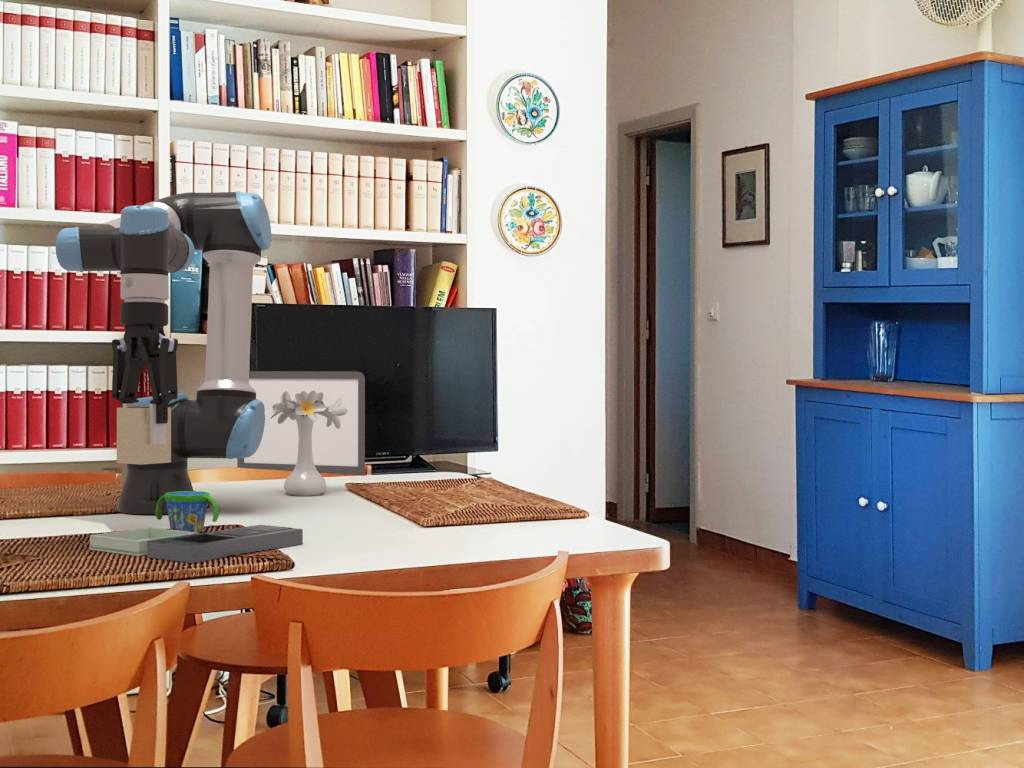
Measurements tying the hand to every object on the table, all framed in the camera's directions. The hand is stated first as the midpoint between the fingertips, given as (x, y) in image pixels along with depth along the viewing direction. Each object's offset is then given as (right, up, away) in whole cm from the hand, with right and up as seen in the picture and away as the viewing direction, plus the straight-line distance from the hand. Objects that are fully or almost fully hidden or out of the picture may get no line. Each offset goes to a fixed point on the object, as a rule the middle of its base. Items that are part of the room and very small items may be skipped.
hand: (144, 443), depth 191 cm
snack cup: (+2, -17, +17) cm, 24 cm away
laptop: (0, -17, +103) cm, 104 cm away
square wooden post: (0, -3, 0) cm, 3 cm away
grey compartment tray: (+14, -17, -2) cm, 22 cm away
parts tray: (0, -17, 0) cm, 17 cm away
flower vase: (+14, -17, +72) cm, 76 cm away
